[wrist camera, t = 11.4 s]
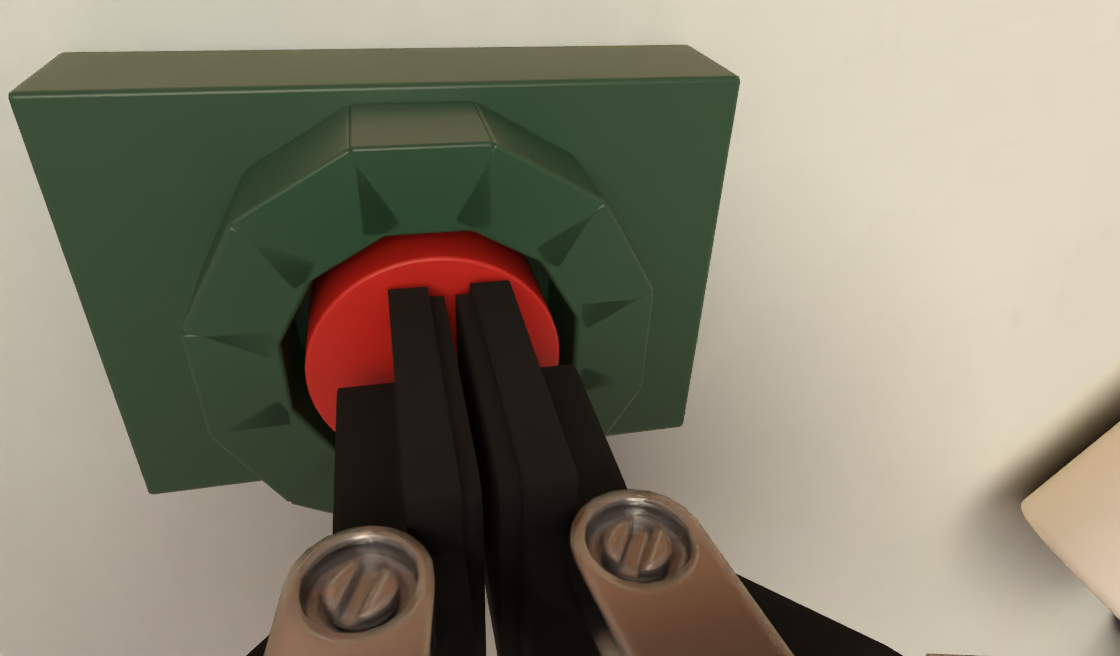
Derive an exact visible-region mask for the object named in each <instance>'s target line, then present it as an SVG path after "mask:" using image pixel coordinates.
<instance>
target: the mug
mask: <svg viewBox="0 0 1120 656" xmlns="http://www.w3.org/2000/svg"><path fill="white" fill-rule="evenodd" d="M1021 510H1022V513H1023V515H1024V516H1025V518H1026V520H1027V521H1028V522H1029V524H1030V525H1031V526H1032V528H1033V529H1034V530H1035V531H1036V533H1037V534H1038V535H1039V536H1040V537H1041V539H1042V540H1043V541H1044V542H1045V543H1046V544H1047V545H1048V546H1049V548H1050V549H1051V550H1052V551H1053V552H1054V553H1055V554H1056V555H1057V556H1058V557H1059V559H1060V560H1061V561H1062V562H1063V563H1064V564H1065V565H1066V566H1067V567H1068V568H1069V569H1070V570H1071V571H1072V572H1073V573H1074V574H1075V575H1076V576H1077V578H1078V579H1079V580H1080V581H1081V582H1082V583H1083V584H1084V585H1085V586H1086V587H1087V588H1088V589H1089V590H1090V591H1091V592H1092V593H1093V594H1094V595H1095V596H1096V597H1097V598H1098V599H1099V600H1100V601H1101V602H1102V603H1103V604H1104V605H1105V606H1106V607H1107V608H1108V609H1109V610H1110V611H1111V612H1112V613H1113V614H1114V615H1115V616H1116V617H1117V618H1118V619H1119V620H1120V422H1118V423H1117V424H1116V425H1115V426H1113V427H1112V428H1111V429H1110V430H1109V431H1107V432H1106V433H1105V434H1104V435H1102V436H1101V437H1100V438H1099V439H1098V440H1096V441H1095V442H1094V443H1093V444H1091V445H1090V446H1089V447H1088V448H1087V449H1085V450H1084V451H1083V452H1082V453H1080V454H1079V455H1078V456H1077V457H1075V458H1074V459H1073V460H1072V461H1071V462H1069V463H1068V464H1067V465H1066V466H1064V467H1063V468H1062V469H1061V470H1060V471H1058V472H1057V473H1056V474H1055V475H1053V476H1052V477H1051V478H1050V479H1049V480H1047V481H1046V482H1045V483H1044V484H1042V485H1041V486H1040V487H1039V488H1038V489H1036V490H1035V491H1034V492H1033V493H1031V494H1030V495H1029V496H1028V497H1027V498H1025V499H1024V500H1023V501H1022V504H1021Z"/></svg>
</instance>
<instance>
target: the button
mask: <svg viewBox="0 0 1120 656" xmlns="http://www.w3.org/2000/svg"><path fill="white" fill-rule="evenodd" d="M504 280H509V281H510V283H511V286H512V289H513V292H514V294H515V297H516V300H517V303H518V306H519V309H520V311H521V314H522V317H523V320H524V323H525V326H526V328H527V331H528V334H529V337H530V340H531V342H532V345H533V348H534V351H535V354H536V357H537V359H538V362H539V365H540V367H548V366H558V361H559V340H558V335H557V329H556V327H555V324H554V321H553V318H552V316H551V313H550V311H549V309H548V306H547V304H546V302H545V299H544V297H543V294H542V292H541V290H540V287H539V285H538V283H537V280H536V278H535V276H534V273H533V271H532V269H531V266H530V264H529V262H528V260H527V258H526V257H525V255H524V254H521V253H519V252H517V251H515V250H513V249H510V248H508V247H506V246H504V245H502V244H499V243H497V242H495V241H493V240H491V239H488V238H486V237H484V236H482V235H480V234H477V233H475V232H473V231H457V232H442V233H426V234H411V235H396V236H385V237H383V238H381V239H380V240H378V241H376V242H375V243H373V244H371V245H370V246H368V247H366V248H365V249H363V250H361V251H360V252H358V253H356V254H355V255H353V256H352V257H350V258H348V259H347V260H345V261H343V262H342V263H340V264H338V265H337V266H335V267H333V268H332V269H330V270H328V271H327V272H325V273H323V274H322V275H320V276H319V277H317V278H315V279H314V280H313V285H312V289H311V293H310V305H309V318H308V330H307V343H306V355H305V377H306V384H307V387H308V391H309V395H310V397H311V399H312V401H313V404H314V406H315V408H316V409H317V411H318V412H319V414H320V415H321V417H322V418H323V420H324V421H325V422H326V423H327V424H328V425H329V426H330V427H331V429H332V430H333V431H334V432H336V399H337V390H338V388H344V387H354V386H364V385H373V384H383V383H393V382H395V379H394V366H393V353H392V340H391V327H390V315H389V302H388V289H400V288H413V287H426V286H427V288H428V293H429V297H430V296H442V295H443V296H444V298H445V303H446V308H447V314H448V319H449V324H450V329H451V334H452V339H453V344H454V349H455V354H456V359H457V364H458V351H457V327H456V301H455V299H456V294H467V293H469V286H470V283H478V282H491V281H504Z"/></svg>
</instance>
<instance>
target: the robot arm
mask: <svg viewBox="0 0 1120 656" xmlns="http://www.w3.org/2000/svg"><path fill="white" fill-rule="evenodd" d="M455 301H456V327H457V351H458V364H457V359H456V354H455V349H454V344H453V339H452V334H451V329H450V324H449V319H448V314H447V308H446V303H445V298H444V296H443V295H442V296H430V297H429V293H428V288H427V286H426V287H413V288H400V289H388V302H389V315H390V327H391V340H392V353H393V366H394V379H395V382H393V383H383V384H373V385H364V386H354V387H344V388H338V390H337V399H336V434H335V469H334V504H333V534H332V535H330V536H327V537H325V538H324V539H322V540H321V541H319V542H318V543H316V544H315V545H313V546H312V547H310V548H309V549H307V550H306V551H305V552H304V554H303V555H302V556H301V557H300V558H299V559H298V560H297V561H296V562H295V564H294V565H293V566H292V568H291V570H290V572H289V574H288V576H287V578H286V580H285V583H284V585H283V588H282V592H281V595H280V599H279V602H278V606H277V610H276V613H275V617H274V620H273V624H272V628H271V631H270V634H269V635H268V636H267V637H266V638H265V639H264V640H263V641H262V642H261V643H260V644H258V645H257V646H256V647H255V648H254V649H253V650H252V651H251V652H250V653H249V654H247V655H246V656H486V626H485V588H486V593H487V599H488V605H489V610H490V616H491V622H492V627H493V633H494V638H495V644H496V650H497V655H498V656H902V655H901V654H899V653H898V652H896V651H894V650H893V649H891V648H889V647H888V646H886V645H884V644H882V643H880V642H878V641H876V640H873V639H871V638H869V637H867V636H865V635H863V634H861V633H859V632H857V631H855V630H853V629H850V628H848V627H846V626H844V625H842V624H840V623H838V622H836V621H834V620H832V619H830V618H828V617H825V616H823V615H821V614H819V613H817V612H815V611H813V610H811V609H809V608H807V607H805V606H802V605H800V604H798V603H796V602H794V601H792V600H790V599H788V598H786V597H784V596H782V595H779V594H777V593H775V592H773V591H771V590H769V589H767V588H765V587H763V586H761V585H759V584H757V583H754V582H752V581H750V580H748V579H746V578H744V577H742V576H740V575H738V574H736V573H735V572H734V571H733V569H732V568H731V567H730V565H729V564H728V562H727V561H726V560H725V558H724V557H723V555H722V554H721V553H720V551H719V550H718V548H717V547H716V546H715V544H714V543H713V541H712V540H711V539H710V537H709V536H708V534H707V533H706V532H705V530H704V529H703V527H702V526H701V525H700V523H699V522H698V521H697V520H696V519H695V517H694V516H693V515H692V514H691V513H690V512H689V511H688V510H687V509H686V508H685V507H683V506H682V505H680V504H678V503H677V502H675V501H673V500H672V499H670V498H668V497H666V496H663V495H660V494H657V493H654V492H651V491H645V490H634V489H627V487H626V484H625V482H624V480H623V477H622V475H621V473H620V470H619V468H618V465H617V463H616V461H615V458H614V456H613V454H612V451H611V449H610V446H609V444H608V442H607V439H606V437H605V435H604V432H603V430H602V427H601V425H600V423H599V420H598V418H597V416H596V413H595V411H594V408H593V406H592V404H591V401H590V399H589V397H588V394H587V392H586V389H585V387H584V385H583V382H582V380H581V378H580V375H579V373H578V371H577V369H576V367H575V366H574V365H572V364H568V365H558V366H548V367H540V365H539V362H538V359H537V357H536V354H535V351H534V348H533V345H532V342H531V340H530V337H529V334H528V331H527V328H526V326H525V323H524V320H523V317H522V314H521V311H520V309H519V306H518V303H517V300H516V297H515V294H514V292H513V289H512V286H511V283H510V281H509V280H504V281H491V282H478V283H470V286H469V293H467V294H456V299H455ZM926 656H975V655H949V654H926Z"/></svg>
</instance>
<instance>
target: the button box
mask: <svg viewBox="0 0 1120 656" xmlns="http://www.w3.org/2000/svg"><path fill="white" fill-rule="evenodd" d="M739 85H740V79H739V76H737V75H735V74H734V73H732V72H730V71H729V70H727V69H726V68H724V67H722V66H721V65H719V64H718V63H716V62H714V61H713V60H711V59H709V58H708V57H706V56H705V55H703V54H701V53H700V52H698V51H696V50H695V49H693V48H692V47H690V46H688V45H649V46H567V47H485V48H403V49H320V50H238V51H156V52H74V53H61V54H59V55H58V56H57V57H55V58H54V59H53V60H51V61H50V62H49V63H47V64H46V65H45V66H43V67H42V68H41V69H40V70H38V71H37V72H36V73H34V74H33V75H32V76H30V77H29V78H28V79H26V80H25V81H24V82H23V83H21V84H20V85H19V86H17V87H16V88H15V89H13V90H12V91H11V92H9V97H8V98H9V101H10V104H11V107H12V110H13V112H14V115H15V118H16V121H17V124H18V127H19V129H20V132H21V135H22V138H23V141H24V143H25V146H26V149H27V152H28V155H29V157H30V160H31V163H32V166H33V169H34V171H35V174H36V177H37V180H38V183H39V185H40V188H41V191H42V194H43V197H44V200H45V202H46V205H47V208H48V211H49V214H50V216H51V219H52V222H53V225H54V228H55V230H56V233H57V236H58V239H59V242H60V244H61V247H62V250H63V253H64V256H65V259H66V261H67V264H68V267H69V270H70V273H71V275H72V278H73V281H74V284H75V287H76V289H77V292H78V295H79V298H80V301H81V303H82V306H83V309H84V312H85V315H86V317H87V320H88V323H89V326H90V329H91V332H92V334H93V337H94V340H95V343H96V346H97V348H98V351H99V354H100V357H101V360H102V362H103V365H104V368H105V371H106V374H107V376H108V379H109V382H110V385H111V388H112V390H113V393H114V396H115V399H116V402H117V405H118V407H119V410H120V413H121V416H122V419H123V421H124V424H125V427H126V430H127V433H128V435H129V438H130V441H131V444H132V447H133V449H134V452H135V455H136V458H137V461H138V464H139V466H140V469H141V472H142V475H143V478H144V480H145V483H146V486H147V489H148V492H149V493H150V494H160V493H168V492H176V491H184V490H191V489H199V488H207V487H215V486H223V485H230V484H238V483H246V482H254V481H261V480H263V481H264V482H265V483H266V484H267V485H269V486H270V487H271V488H272V489H274V490H275V491H276V492H277V493H278V494H280V495H281V496H282V497H283V498H284V499H286V500H287V501H289V502H291V503H292V504H295V505H299V506H303V507H307V508H312V509H316V510H320V511H324V512H329V513H333V504H334V469H335V434H336V432H334V431H333V430H332V429H331V427H330V426H329V425H328V424H327V423H326V422H325V421H324V420H323V418H322V417H321V415H320V414H319V412H318V411H317V409H316V408H315V406H314V404H313V401H312V399H311V397H310V395H309V391H308V387H307V384H306V377H305V355H306V343H307V330H308V318H309V305H310V293H311V289H312V285H313V280H314V279H315V278H317V277H319V276H320V275H322V274H323V273H325V272H327V271H328V270H330V269H332V268H333V267H335V266H337V265H338V264H340V263H342V262H343V261H345V260H347V259H348V258H350V257H352V256H353V255H355V254H356V253H358V252H360V251H361V250H363V249H365V248H366V247H368V246H370V245H371V244H373V243H375V242H376V241H378V240H380V239H381V238H383V237H385V236H396V235H411V234H426V233H442V232H457V231H473V232H475V233H477V234H480V235H482V236H484V237H486V238H488V239H491V240H493V241H495V242H497V243H499V244H502V245H504V246H506V247H508V248H510V249H513V250H515V251H517V252H519V253H521V254H524V255H525V257H526V258H527V260H528V262H529V264H530V266H531V269H532V271H533V273H534V276H535V278H536V280H537V283H538V285H539V287H540V290H541V292H542V294H543V297H544V299H545V302H546V304H547V306H548V309H549V311H550V313H551V316H552V318H553V321H554V324H555V327H556V329H557V335H558V340H559V361H558V365H568V364H572V365H574V366H575V367H576V369H577V371H578V373H579V375H580V378H581V380H582V382H583V385H584V387H585V389H586V392H587V394H588V397H589V399H590V401H591V404H592V406H593V408H594V411H595V413H596V416H597V418H598V420H599V423H600V425H601V427H602V430H603V432H604V435H605V436H611V435H618V434H626V433H634V432H642V431H650V430H657V429H665V428H673V427H680V426H682V425H683V421H684V415H685V409H686V403H687V397H688V391H689V385H690V379H691V373H692V367H693V361H694V355H695V349H696V343H697V337H698V331H699V325H700V319H701V313H702V307H703V301H704V295H705V289H706V283H707V277H708V271H709V265H710V259H711V253H712V247H713V241H714V235H715V229H716V223H717V217H718V211H719V205H720V199H721V193H722V187H723V181H724V175H725V169H726V163H727V157H728V151H729V145H730V139H731V133H732V127H733V121H734V115H735V109H736V103H737V97H738V91H739Z"/></svg>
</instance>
